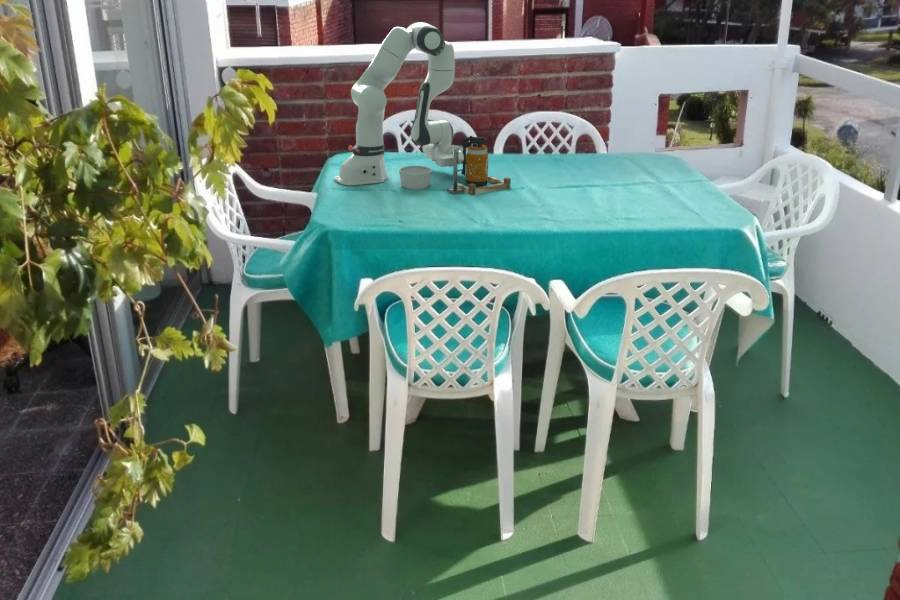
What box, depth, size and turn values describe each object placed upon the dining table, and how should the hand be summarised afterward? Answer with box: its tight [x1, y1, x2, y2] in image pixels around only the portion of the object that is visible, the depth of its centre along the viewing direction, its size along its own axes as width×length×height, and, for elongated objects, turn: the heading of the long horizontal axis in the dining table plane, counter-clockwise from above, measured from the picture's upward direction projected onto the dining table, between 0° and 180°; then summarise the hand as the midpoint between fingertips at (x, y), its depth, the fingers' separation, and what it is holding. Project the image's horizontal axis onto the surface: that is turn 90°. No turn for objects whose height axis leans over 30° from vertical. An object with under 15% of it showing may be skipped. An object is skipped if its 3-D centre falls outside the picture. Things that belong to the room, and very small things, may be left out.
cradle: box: [457, 175, 512, 196], centre depth 339 cm, size 13×20×4 cm, turn 125°
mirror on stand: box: [445, 149, 465, 195], centre depth 331 cm, size 6×5×17 cm
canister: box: [460, 135, 489, 188], centre depth 341 cm, size 9×11×20 cm
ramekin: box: [398, 165, 433, 191], centre depth 341 cm, size 13×13×7 cm
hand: (468, 162), depth 344 cm, fingers closed, pressing on canister
